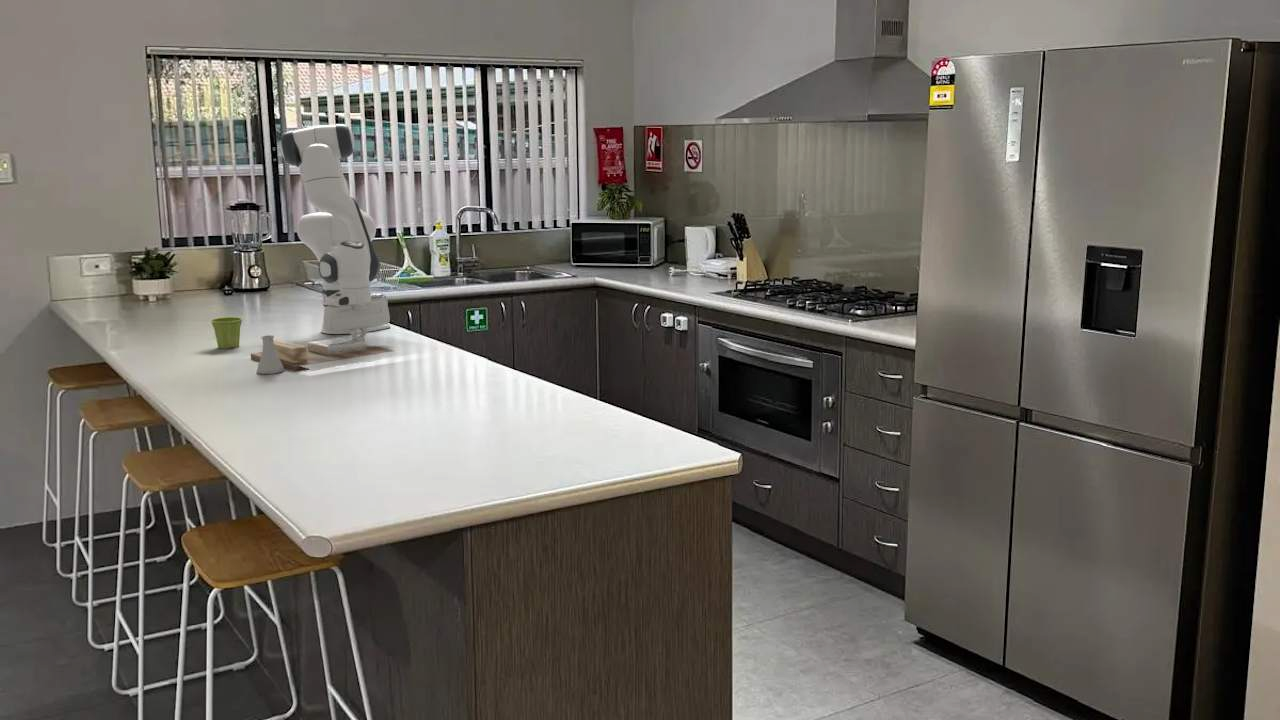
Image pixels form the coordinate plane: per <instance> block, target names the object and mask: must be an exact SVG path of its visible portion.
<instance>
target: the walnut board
mask: <svg viewBox="0 0 1280 720" xmlns="http://www.w3.org/2000/svg"><path fill="white" fill-rule="evenodd" d="M304 346H305V347H306V349H307V361H303V362H297V363H292V362H289V361H285V360H282V359H280V361H281V363H282V365H283V367H284V369H285V370H288V371H292V372H302V371H308V370H309V371H310V370H311V369H310V368H308V367H305V366H307V365H313V364H314V365H315V364H322V363H326V362H332V361H338V360H339V361H340V360H345V359H353V358H358V357H363V356H365V357H366V356H371V355H377V354H385V353H389V352H395V350H393V349H389V348H385V347H380V346H376V345H372V344H367V343H365V350H361V351H354V352H348V353H342V354H335V355H329V356H328V355H324V354H319V353H315V352H311V351H308V348H307V345H304ZM261 354H262V351H261V352H254V353H250V359H251V360H254V361H257V362H260V358H261Z"/></svg>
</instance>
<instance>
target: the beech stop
mask: <svg viewBox="0 0 1280 720" xmlns="http://www.w3.org/2000/svg"><path fill="white" fill-rule="evenodd" d="M273 343H274V347H275V350H276V352H277V355H278V357H279V359H282V360H285V361H289V362H292V363H297V362H303V361H307V349H306V347H305V346H306V345H301V344H297V343H292V342H288V341H284V340H280V339H277V338H276V339H273Z"/></svg>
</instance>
